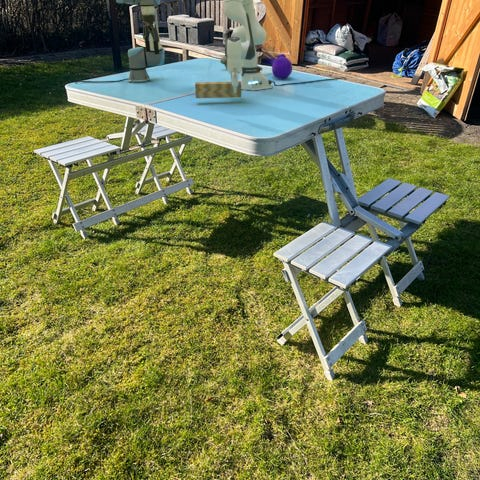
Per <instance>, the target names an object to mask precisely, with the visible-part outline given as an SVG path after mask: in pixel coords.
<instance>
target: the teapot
mask: <svg viewBox="0 0 480 480" xmlns="http://www.w3.org/2000/svg"><path fill="white" fill-rule="evenodd" d="M227 59H228V58H227V57H226V56H225V55H223V56H222V57H221V58H220V63H221V64H222V65H224V67H225V69H226V70H227Z"/></svg>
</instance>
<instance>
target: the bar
mask: <svg viewBox="0 0 480 480" xmlns="http://www.w3.org/2000/svg"><path fill="white" fill-rule="evenodd" d="M194 88H195V89H194V90H195V91H194V92H195V99H232V98H233V99H235V98H236V99H237V98H238V99H239V98H242V89H241V81H238V86H237V93H234V89H233V86H232V81H199V82H198V81H197V82H196V81H195V82H194Z"/></svg>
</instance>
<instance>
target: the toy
mask: <svg viewBox="0 0 480 480" xmlns="http://www.w3.org/2000/svg"><path fill="white" fill-rule="evenodd" d="M260 60H261V61H262V62H264V63H266V64H268V65H270V66H271V72H272V75H273V76H274V77H275V78H276V79H279V80H285V79H287V78H289V77H290V75H291V74H292V72H293V63H292V62H291V61H290V59H289V58H287V57H286V55H285V54H284V53H280V54H278V55H277V56H276V58H268V57H266V58H265V57H263V58H262V57H261V58H260Z"/></svg>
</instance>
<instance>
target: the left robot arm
mask: <svg viewBox="0 0 480 480" xmlns="http://www.w3.org/2000/svg"><path fill="white" fill-rule="evenodd" d="M115 2H116V3H117V4H127V5H133V6H140V11H141V18H142V22H143V23H142V25H143V29H142V39H143V40H144V43H145V44H144V45H145V46H144V47H145V48H144V47H143V46H138V47H132V48H130V49H128V50H127V56H128V64H129V65H128V66H129V76H128V78H127V77H126V78H123V79H119V80H103V81H102V80H101V81H99V80H95V81H93V80H76V81H75V82H74V84H77V83H93V84H94V83H99V84H100V83H118V82H119V83H120V82H124V81H127V80H128V82H129V83H133V84H141V83H148V82H150V75H149V74H148V71H147V67H153V66H155V67H157V66H163V65H165V59H166V58H165V57H166V56H165V52H166V51H165V50H166V49H165V48H163V45H162V44H161V41H160V33H159V23H158V21H159V20H158V13H157V12H158V11H157V10H158V9H159V5H161V1H160V0H115Z"/></svg>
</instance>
